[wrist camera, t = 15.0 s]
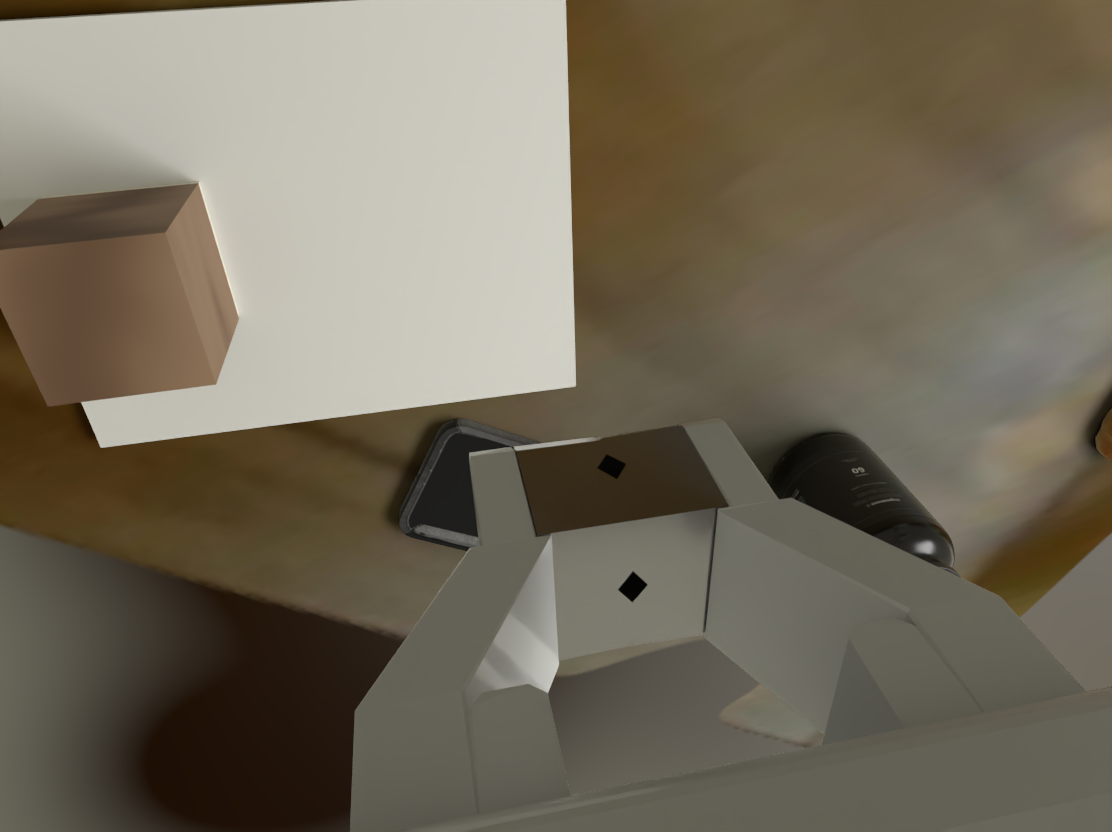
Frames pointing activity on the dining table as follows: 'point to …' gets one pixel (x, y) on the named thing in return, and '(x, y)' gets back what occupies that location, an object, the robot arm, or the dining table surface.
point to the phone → (450, 485)
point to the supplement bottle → (861, 495)
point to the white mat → (325, 191)
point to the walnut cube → (117, 292)
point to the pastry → (1105, 437)
